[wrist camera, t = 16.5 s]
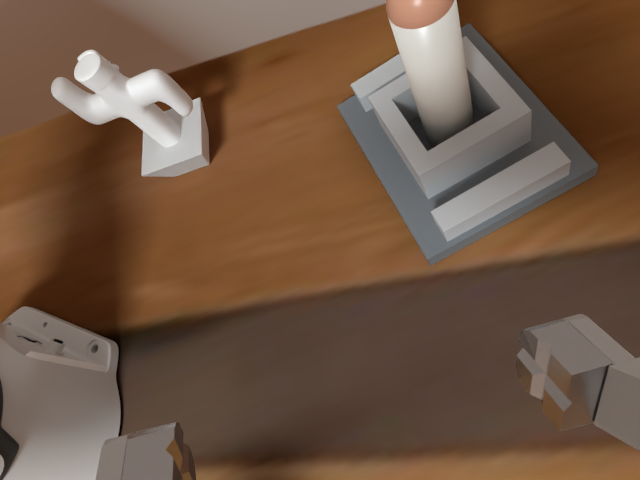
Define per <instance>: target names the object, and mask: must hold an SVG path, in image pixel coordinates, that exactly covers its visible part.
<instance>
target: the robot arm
mask: <svg viewBox="0 0 640 480" xmlns="http://www.w3.org/2000/svg"><path fill="white" fill-rule="evenodd" d="M519 343H520V344H521V346H522V347H523V349H522V350H521V351H520V352H519V354H518V355H517V360H516V368H517V372H518V375H519V378H520V380H521V382H522V384H523V386H524V387H525V388H526V390H527V391H528V392H529V394H531V395H533V396H535V397H537V398H539V399H542V410H543V411H544V412H545V414H546V415H547V416H548V417H549V419H550V420H551V421H552V422H553V423H554V425H555V426H556V427H557V428H558V430H559V431H563V430H567V429H570V428H574V427H578V426H582V425H585V424H589V423H593V422H594V425H596V426H598V427H599V428H601V429H603V430H604V431H606V432H608V433H610V434H611V435H613V436H615V437H616V438H618V439H620V440H622V441H623V442H625V443H627V444H629V445H630V446H632V447H634V448H635V449H637V450H639V451H640V357H639V358H634V357H633V356H632V355H631V354H630V353H629V352H627V351H626V350H625V349H624V348H623V347H622V346H620V345H619V344H618V343H617V342H616V341H615V340H614V339H612V338H611V337H610V336H609V335H608V334H607V333H606V332H604V331H603V330H602V329H601V328H600V327H599V326H597V325H596V324H595V323H594V322H593V321H592V320H591V319H589V318H588V317H587V316H585V315H582V314H578V315H574V316H571V317H567V318H563V319H561V320H555V321H552V322H548V323H545V324H541V325H537V326H534V327H530V328H527V329H523V330H522V332H521V333H520V335H519ZM97 348H98V350H97ZM118 353H119V351H118V346H117V344H116V343H115V342H114V341H112V340H110V339H107V338H105V337H103V336H100V335H98V334H96V333H93V332H91V331H89V330H86V329H84V328H81V327H79V326H77V325H74V324H72V323H70V322H67V321H65V320H62V319H60V318H58V317H55V316H53V315H51V314H48V313H46V312H43V311H41V310H39V309H36V308H33V307H27V306H24V307H21V308H20V309H18V310H17V311H15V312H14V313H13V314H11V315H10V316H9V317H8V318H7V319H6V320H5V321H4V322H3V323H0V480H196V474H195V466H194V461H193V457H192V453H191V450H190V448H189V446H188V445H186V444H184V443H183V431H182V429H181V426H180V424H179V423H177V422H176V423H171V424H167V425H163V426H159V427H155V428H151V429H146V430H142V431H138V432H134V433H130V434H127V435H123V436H119V437H118V434H119V428H120V416H121V408H120V398H119V392H118V387H117V382H116V371H117V364H118Z"/></svg>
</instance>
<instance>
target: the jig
mask: <svg viewBox="0 0 640 480" xmlns="http://www.w3.org/2000/svg"><path fill="white" fill-rule="evenodd" d="M461 34H462V41H463V47H464V54H465V61H466V68H467V74H468V81H469V88H470V95H471V101H472V108H473V115H474V122H475V123H474V124H473V125H471V126H469V127H468V128H466V129H464V130H463V131H461V132H459V133H458V134H456V135H454V136H453V137H451V138H449V139H447V140H446V141H444V142H442V143H441V144H439V145H437V146H436V147H434V148H432V147H431V146H430V144H429V143H428V141H427V138H426V135H425V131H424V128H423V125H422V122H421V119H420V116H419V113H418V109H417V106H416V103H415V100H414V97H413V94H412V91H411V87H410V84H409V81H408V78H407V75H406V72H405V68H404V65H403V62H402V59H401V56H400V54H398V55H397V56H395V57H393V58H392V59H390V60H389V61H387V62H386V63H384V64H382V65H381V66H379V67H378V68H376V69H375V70H373V71H371V72H370V73H368V74H367V75H365V76H364V77H362V78H360V79H359V80H357V81H356V82H354V83H352V84H351V87H352V89H353V91H354V93H355V95H354V96H352V97H350V98H349V99H347V100H346V101H344V102H343V103H341V104H339V105H338V106H337V107H338V109H339V111H340V113H341V115H342V116H343V118H344V120H345V121H346V123H347V125H348V126H349V128H350V130H351V132H352V133H353V135H354V137H355V138H356V140H357V142H358V143H359V145H360V147H361V148H362V150H363V152H364V154H365V155H366V157H367V159H368V160H369V162H370V164H371V165H372V167H373V169H374V171H375V172H376V174H377V176H378V177H379V179H380V181H381V182H382V184H383V186H384V187H385V189H386V191H387V193H388V194H389V196H390V198H391V199H392V201H393V203H394V204H395V206H396V208H397V210H398V211H399V213H400V215H401V216H402V218H403V220H404V221H405V223H406V225H407V227H408V228H409V230H410V232H411V233H412V235H413V237H414V238H415V240H416V242H417V243H418V245H419V247H420V249H421V250H422V252H423V254H424V255H425V257H426V259H427V260H428V262H429V264H430V266H431V265H433V264H435V263H437V262H438V261H440V260H442V259H444V258H446V257H448V256H449V255H451V254H453V253H455V252H457V251H459V250H460V249H462V248H464V247H466V246H468V245H469V244H471V243H473V242H475V241H477V240H479V239H480V238H482V237H484V236H486V235H488V234H490V233H491V232H493V231H495V230H497V229H499V228H500V227H502V226H504V225H506V224H508V223H510V222H511V221H513V220H515V219H517V218H519V217H521V216H522V215H524V214H526V213H528V212H530V211H531V210H533V209H535V208H537V207H539V206H541V205H542V204H544V203H546V202H548V201H550V200H552V199H553V198H555V197H557V196H559V195H561V194H562V193H564V192H566V191H568V190H570V189H572V188H573V187H575V186H577V185H579V184H581V183H583V182H584V181H586V180H588V179H590V178H592V177H593V176H595V175H596V174H597V170H598V166H599V165H598V164H597V163H596V162H595V161H594V160H593V158H592V157H591V156H590V155H589V154H588V153H587V152H586V151H585V150H584V149H583V147H582V146H581V145H580V144H579V143H578V142H577V141H576V140H575V139H574V138H573V136H572V135H571V134H570V133H569V132H568V131H567V130H566V129H565V128H564V126H563V125H562V124H561V123H560V122H559V121H558V120H557V119H556V118H555V117H554V115H553V114H552V113H551V112H550V111H549V110H548V109H547V108H546V107H545V106H544V104H543V103H542V102H541V101H540V100H539V99H538V98H537V97H536V96H535V94H534V93H533V92H532V91H531V90H530V89H529V88H528V87H527V86H526V85H525V83H524V82H523V81H522V80H521V79H520V78H519V77H518V76H517V75H516V74H515V72H514V71H513V70H512V69H511V68H510V67H509V66H508V65H507V64H506V62H505V61H504V60H503V59H502V58H501V57H500V56H499V55H498V54H497V53H496V51H495V50H494V49H493V48H492V47H491V46H490V45H489V44H488V43H487V42H486V40H485V39H484V38H483V37H482V36H481V35H480V34H479V33H478V32H477V31H476V29H475V28H474V27H473V26H472V25H471V24H470V23H468V24H467V25H465V26H463V27H462V28H461Z"/></svg>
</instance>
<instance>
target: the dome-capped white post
mask: <svg viewBox="0 0 640 480" xmlns="http://www.w3.org/2000/svg"><path fill="white" fill-rule="evenodd" d="M386 11H387V15H388V18H389V21H390V24H391V28H392V31H393V34H394V37H395V40H396V43H397V46H398V50H399V53H400V56H401V59H402V62H403V65H404V68H405V72H406V75H407V78H408V81H409V84H410V87H411V91H412V94H413V97H414V100H415V103H416V106H417V109H418V113H419V116H420V119H421V122H422V125H423V128H424V131H425V135H426V138H427V141H428V143H429V144H430V146H431V147H432V148H434V147H436V146H437V145H439V144H441V143H442V142H444V141H446V140H447V139H449V138H451V137H453V136H454V135H456V134H458V133H459V132H461V131H463V130H464V129H466V128H468V127H469V126H471V125H473V124H474V123H475V122H474V115H473V108H472V101H471V95H470V88H469V81H468V74H467V68H466V61H465V54H464V47H463V41H462V34H461V27H460V20H459V13H458V7H457V0H386Z"/></svg>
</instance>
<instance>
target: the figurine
mask: <svg viewBox="0 0 640 480" xmlns="http://www.w3.org/2000/svg"><path fill="white" fill-rule="evenodd" d="M78 61H79V62H78V64H77V65H76V67H75V70H74V76H75V79H76V80H77V81H79V82H81V83H82V84H83V85H85V86H86V87H88V88H89V89H91V90H92V91H94V92H95V94H90V93H87V92H85V91H83V90H82V89H80V88H79V87H77V86H76V85H74V84H73V83H72V82H71V81H69V80H68V79H66V78H64V77H58V78H56V79H55V80H54V81H53V83H52V86H51V92H52V95H53V96H54V98H56V99H57V100H58V101H59V102H60V103H62V104H63V105H65V106H66V107H68V108H69V109H70V110H72V111H73V112H74V113H76V114H77V115H79V116H80V117H81V118H83V119H84V120H86V121H88V122H90V123H92V124H97V125H100V124H104V123H106V122H109V121H111V120H114V119H116V118H119V117H124V118H127V119H129V120H130V121H131V122H133V123H134V124H135V125H136V126H138V127H139V128H140V129H141V130H143V147H142V173H141V176H166V177H176V176H179V175H182V174H184V173H187V172H190V171H193V170H196V169H199V168H201V167H204V166H207V165H210V161H209V132H208V127H207V123H206V119H205V115H204V110H203V106H202V102H201V98H200V97H199V98H197V99H194V100H192V99H191V98H190V96H189V95H188V94H187V93H186V92H185V91H184V90H183V89H182V88H181V87H180V86H179V85H178V84H177V83H176V82H175V81H174V80H173V79H172V78H171V77H170V76H169V75H168V74H166V73H165V72H163V71H162V70H159V69H151V70H148V71H146V72H143V73H141V74H139V75H137V76H134V77H132V78H128V77H126V76H124V75H123V74H121V73H120V72H119V66H118V65H116V64H111V63H110V61H107V60H106V59H105V58H104V57H103V56H102V55H100V54H99V53H98V52H97V51H95V50H88V51H85V52H83V53H82V54H81V55H80V56H79V57H78ZM157 101H160V102H163V103H166V104H167V105H169V106H170V107H172V109H169V110H167V111H164V112H163V111H162V110H161V109H160V108H159V107H158V106H157V105H156V104H155V102H157Z"/></svg>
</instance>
